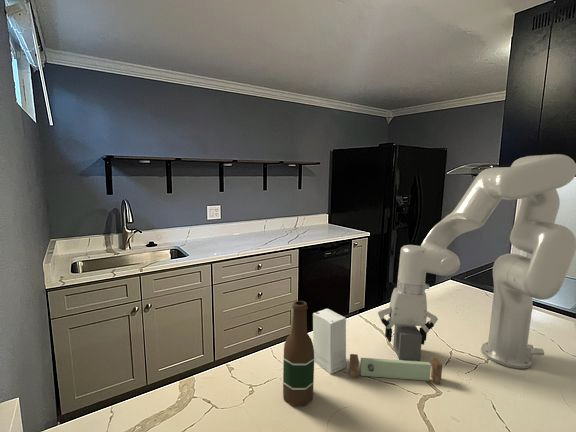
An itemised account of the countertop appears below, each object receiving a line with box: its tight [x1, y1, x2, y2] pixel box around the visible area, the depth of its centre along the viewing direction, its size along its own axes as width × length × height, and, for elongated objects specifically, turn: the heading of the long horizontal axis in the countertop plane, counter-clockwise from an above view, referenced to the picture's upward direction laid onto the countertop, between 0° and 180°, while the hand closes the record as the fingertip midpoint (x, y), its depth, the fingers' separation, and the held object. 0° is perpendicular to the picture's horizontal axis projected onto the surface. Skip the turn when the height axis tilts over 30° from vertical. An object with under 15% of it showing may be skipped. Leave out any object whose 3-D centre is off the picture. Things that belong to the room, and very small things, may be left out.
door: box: [359, 357, 432, 382], centre depth 82 cm, size 18×2×4 cm, turn 85°
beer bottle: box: [282, 300, 315, 407], centre depth 74 cm, size 8×8×24 cm
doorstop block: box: [392, 324, 422, 362], centre depth 94 cm, size 6×7×8 cm
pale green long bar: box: [348, 353, 443, 385], centre depth 83 cm, size 23×3×6 cm, turn 85°
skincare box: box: [312, 308, 347, 374], centre depth 88 cm, size 8×6×15 cm
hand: (404, 340), depth 94 cm, fingers open, 9 cm apart
